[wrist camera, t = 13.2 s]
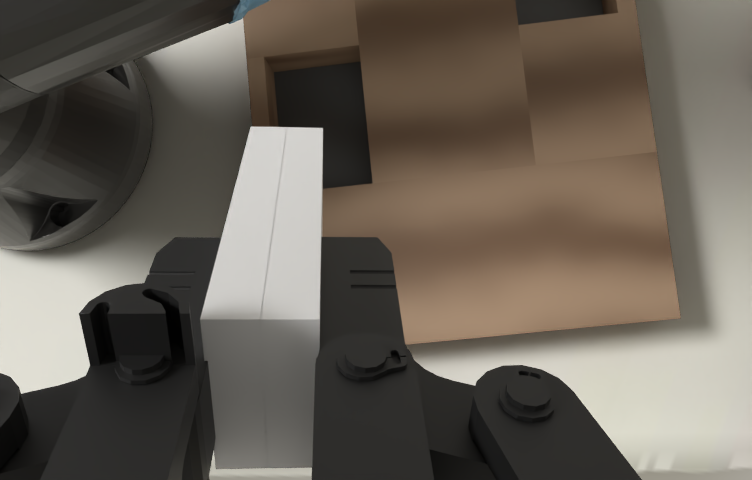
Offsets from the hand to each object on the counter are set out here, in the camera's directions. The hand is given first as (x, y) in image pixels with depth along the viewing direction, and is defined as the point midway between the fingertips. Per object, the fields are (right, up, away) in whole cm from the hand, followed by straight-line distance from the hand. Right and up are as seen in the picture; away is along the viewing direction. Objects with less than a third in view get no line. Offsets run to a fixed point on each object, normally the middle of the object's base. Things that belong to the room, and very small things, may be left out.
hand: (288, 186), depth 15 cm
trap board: (+6, +9, +27) cm, 29 cm away
